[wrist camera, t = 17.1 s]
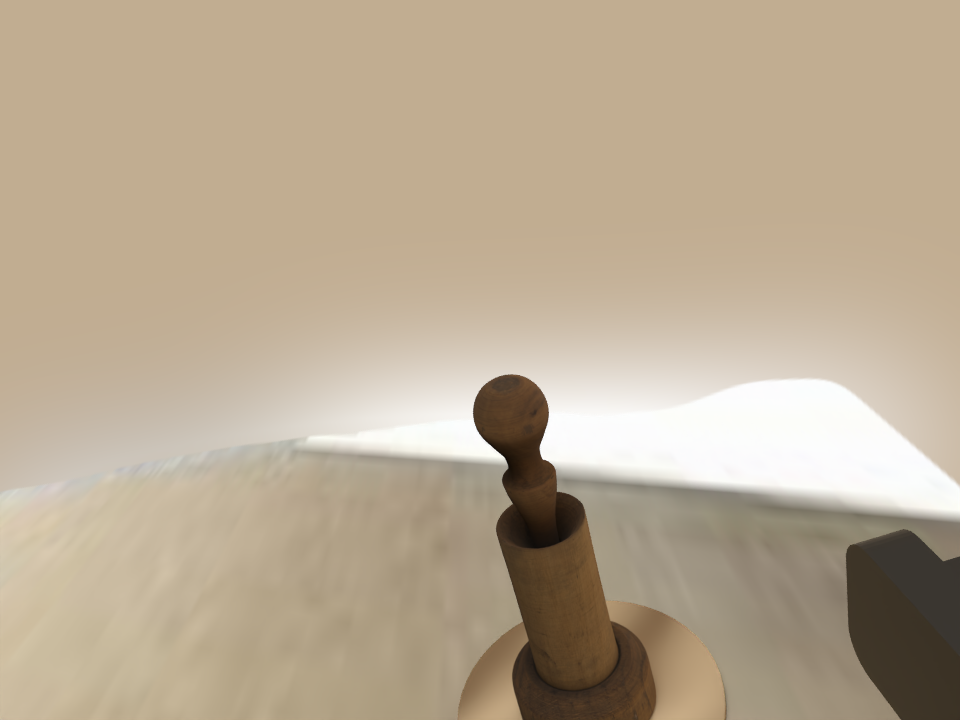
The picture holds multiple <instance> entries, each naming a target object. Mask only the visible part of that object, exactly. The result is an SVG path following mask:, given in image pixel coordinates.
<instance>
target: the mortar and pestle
mask: <svg viewBox="0 0 960 720" xmlns="http://www.w3.org/2000/svg"><path fill="white" fill-rule="evenodd" d="M548 416H549V409H548V404H547V401H546V398H545V396H544V394H543V393H542V391H541V390H540V389H539V387H538V386H537V385H536V384H535V383H534V382H532V381H531V380H529V379H527V378H526V377H523V376H520V375H503V376H499V377H497V378H495V379H493V380H491V381H489V382H488V383H486V384H485V385H484V386H483V387H482V388H481V390H480V391H479V393H478V395H477V397H476V399H475V402H474V408H473V417H474V422H475V426H476V428H477V430H478V432H479V434H480V435H481V436H482V438H483V439H484V440H485V441H486V442H487V443H488V444H490V445H491V446H492V447H493V448H494V449H495V450H496V451H498V452H499V453H500V454H501V455H503V456H504V457H505V459H506V461H507V464H508V469H507V470H506V472H505V473H504V475H503V478H502V483H503V486H504V488H505V490H506V492H507V494H508V496H509V498H510V499H511V501H512V503H513V504H512V505H511V506H510V507H508V508H507V509H506V510H505V511H504V512H503V513H502V515H501V516H500V518H499V520H498V522H497V526H496V532H497V536H498V540H499V543H500V546H501V549H502V553H503V556H504V559H505V562H506V565H507V568H508V572H509V575H510V578H511V582H512V585H513V588H514V592H515V595H516V598H517V602H518V605H519V609H520V612H521V616H522V619H523V622H524V626H525V630H526V633H527V637H528V640H529V641H528V642H527V643H526V644H525V645H524V646H523V648H522V649H521V651H520V652H519V654H518V656H517V658H516V660H515V663H514V666H513V671H512V682H513V688H514V692H515V696H516V699H517V703H518V706H519V709H520V713H521V716H522V719H523V720H650V718H651V716H652V714H653V711H654V708H655V704H656V688H655V682H654V678H653V675H652V670H651V666H650V662H649V658H648V655H647V652H646V649H645V647H644V646H643V644H642V642H641V641H640V640H639V638H638V637H637V636H636V635H635V634H634V633H633V632H631V631H630V630H629V629H627V628H626V627H624V626H622V625H620V624H618V623H616V622H613V621H610V617H609V613H608V609H607V605H606V601H605V597H604V593H603V589H602V585H601V581H600V576H599V572H598V567H597V563H596V559H595V554H594V550H593V545H592V541H591V536H590V532H589V527H588V522H587V518H586V514H585V509H584V507H583V504H582V503H581V502H580V501H579V500H578V499H577V498H575V497H573V496H571V495H569V494H566V493H562V492H557V479H556V470H555V467H554V466H553V465H552V464H551V463H550V462H548V461H546V460H543V459H542V457H541V454H540V444H541V441H542V438H543V436H544V433H545V429H546V426H547V423H548Z"/></svg>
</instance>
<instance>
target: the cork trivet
mask: <svg viewBox="0 0 960 720" xmlns="http://www.w3.org/2000/svg"><path fill="white" fill-rule="evenodd" d="M606 605H607V609H608V613H609V617H610V621H613V622H616V623H618V624H620V625H622V626H624V627H626V628H627V629H629V630H630V631H631V632H633V633H634V634H635V635H636V636H637V637H638V638H639V640H640V641H641V642H642V644H643V646H644V647H645V649H646V652H647V655H648V658H649V662H650V666H651V670H652V675H653V678H654V682H655V688H656V704H655V708H654V711H653V714H652V716H651V718H650V720H726V702H725V693H724V687H723V683H722V679H721V675H720V672H719V670H718V667H717V665H716V663H715V661H714V659H713V657H712V655H711V654H710V652H709V651H708V649H707V648H706V646H705V645H704V644H703V643H702V642H701V641H700V639H699V638H698V637H697V636H696V635H695V634H694V633H692V632H691V631H690V630H689V629H688V628H687V627H685V626H684V625H682V624H681V623H679V622H678V621H676V620H675V619H673V618H671V617H669V616H667V615H665V614H663V613H661V612H659V611H656V610H653V609H651V608H648V607H645V606H641V605H637V604H633V603H626V602H619V601H606ZM528 641H529V640H528V637H527V633H526V630H525V626H524V622H522V623H520V624H518V625H517V626H515V627H513V628H512V629H511V630H509V631H508V632H507V633H505V634H504V635H503V636H501V637H500V638H499V639H498V640H497V641H496V642H495V643H494V644H493V645H491V647H490V648H489V649H488V650H487V651H486V652H485V653H484V654H483V656H482V657H481V658H480V660H479V661H478V662H477V664H476V665H475V667H474V668H473V670H472V672H471V674H470V676H469V677H468V679H467V681H466V684H465V687H464V689H463V692H462V695H461V699H460V704H459V708H458V720H523V719H522V716H521V713H520V709H519V706H518V703H517V699H516V696H515V692H514V688H513V682H512V671H513V666H514V663H515V660H516V658H517V656H518V654H519V652H520V651H521V649H522V648H523V646H524V645H525V644H526V643H527V642H528Z"/></svg>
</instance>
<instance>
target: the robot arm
mask: <svg viewBox="0 0 960 720" xmlns="http://www.w3.org/2000/svg"><path fill="white" fill-rule="evenodd" d="M846 568H847V597H848V625H849V633H850V637H851V641H852V644H853V647H854V650H855V652H856V655H857V657H858V659H859V661H860V663H861V665H862V667H863V668H864V670H865V672H866V673H867V675H868V676H869V677H870V679H871V680H872V681H873V683H874V684H875V685H876V687H877V688H878V689H879V691H880V692H881V693H882V695H883V696H884V697H885V699H886V700H887V701H888V703H889V704H890V705H891V707H892V708H893V709H894V711H895V712H896V713H897V715H898V716H899V717H900V719H901V720H960V557H957V558H953V559H950V560H947V561H942V560H941V559H940V558H939V557H938V556H937V555H936V554H935V553H934V552H933V551H932V550H931V549H930V548H929V547H928V546H927V545H926V544H925V543H924V542H923V541H922V540H921V539H920V538H919V537H918V536H916V535H915V534H914V533H912V532H911V531H909V530H904V529H903V530H900V531H896V532H893V533H890V534H886V535H883V536H880V537H876V538H873V539H870V540H866V541H863V542H860V543H856V544H853V545H850V546H849V547H848V549H847V553H846Z"/></svg>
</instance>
